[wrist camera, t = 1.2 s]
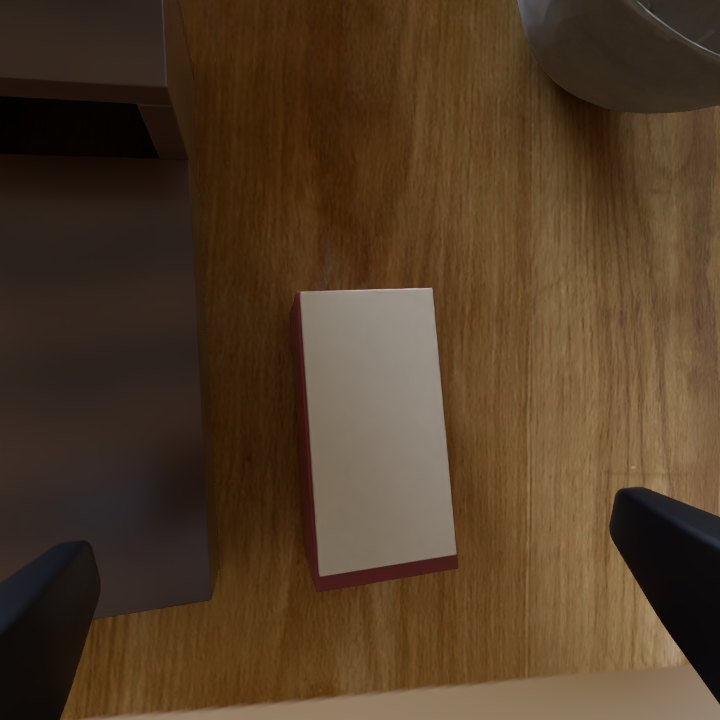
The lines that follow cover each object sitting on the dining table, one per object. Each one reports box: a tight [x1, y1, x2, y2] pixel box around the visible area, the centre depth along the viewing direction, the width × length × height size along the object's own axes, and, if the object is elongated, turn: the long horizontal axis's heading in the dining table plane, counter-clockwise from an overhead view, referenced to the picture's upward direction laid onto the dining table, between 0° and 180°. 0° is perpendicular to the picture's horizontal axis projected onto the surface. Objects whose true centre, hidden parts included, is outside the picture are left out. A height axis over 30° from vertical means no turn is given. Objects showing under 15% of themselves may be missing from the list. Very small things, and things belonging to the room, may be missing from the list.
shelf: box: [0, 0, 220, 620], centre depth 16 cm, size 25×10×11 cm, turn 4°
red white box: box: [290, 288, 458, 592], centre depth 21 cm, size 12×6×5 cm, turn 4°
